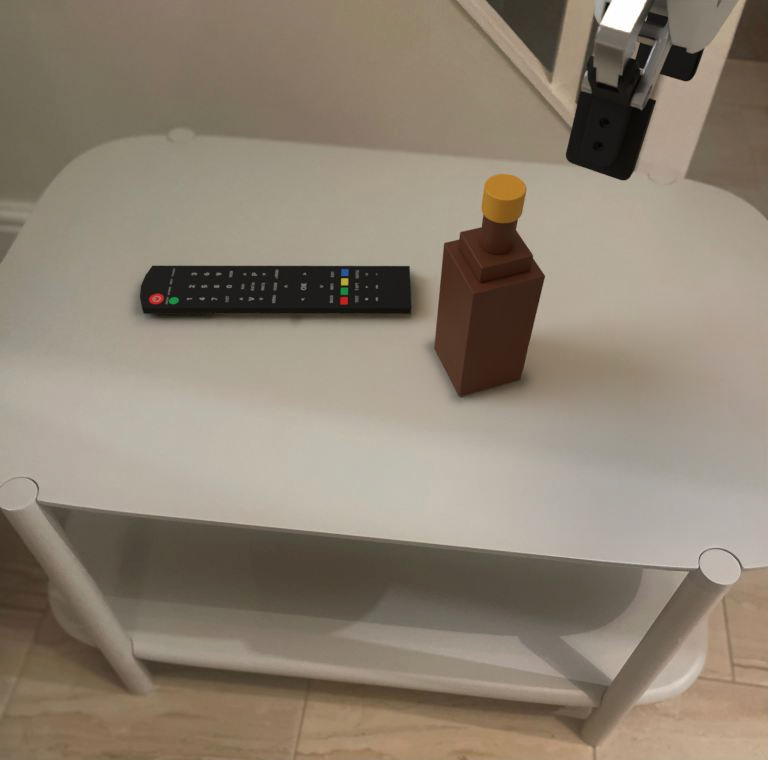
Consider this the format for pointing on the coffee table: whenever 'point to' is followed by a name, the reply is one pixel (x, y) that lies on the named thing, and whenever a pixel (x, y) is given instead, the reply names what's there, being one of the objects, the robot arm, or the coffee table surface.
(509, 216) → the bottle
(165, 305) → the remote control
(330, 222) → the coffee table surface
